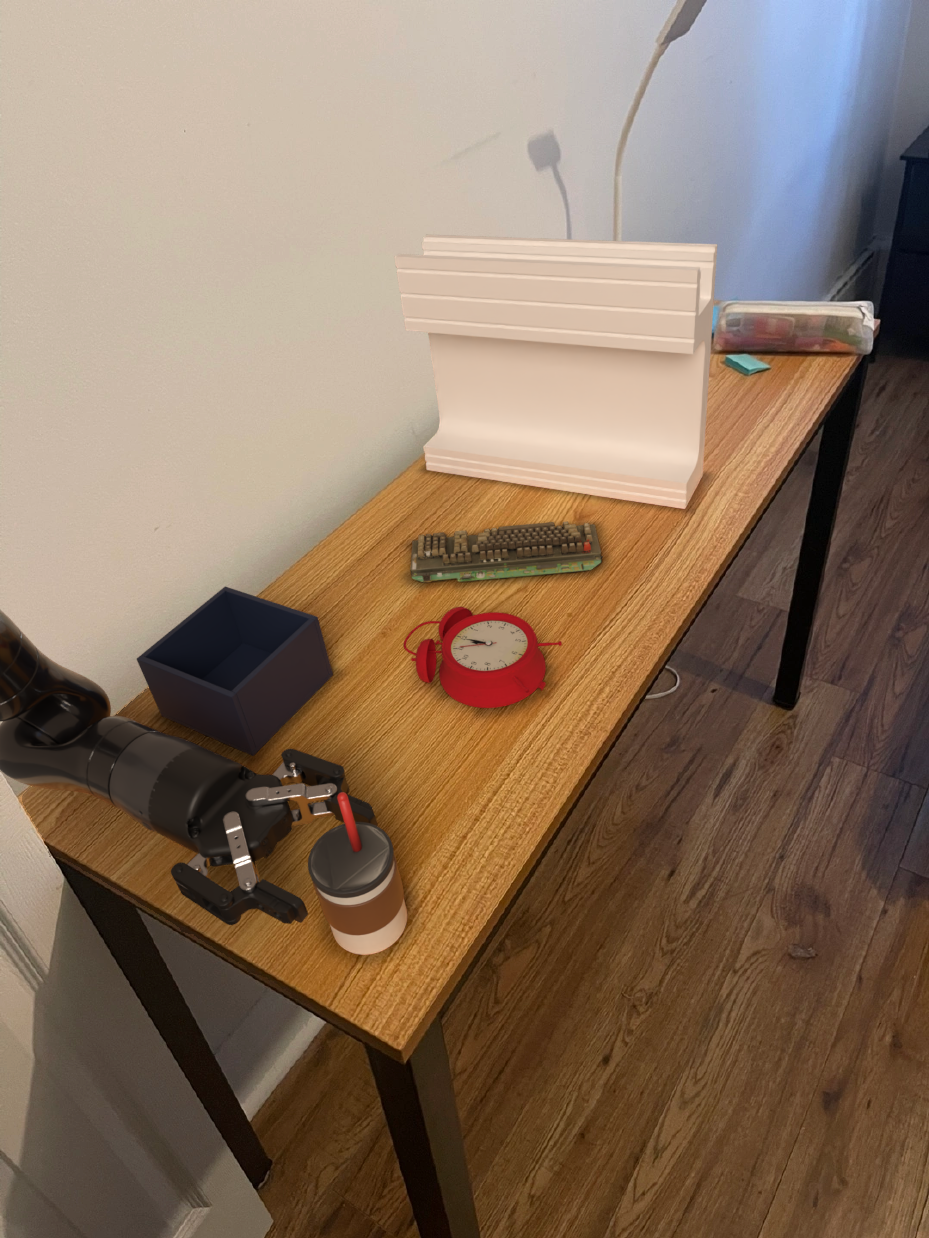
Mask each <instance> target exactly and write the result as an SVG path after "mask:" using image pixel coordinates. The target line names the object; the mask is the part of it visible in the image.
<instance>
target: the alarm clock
mask: <svg viewBox="0 0 929 1238" xmlns="http://www.w3.org/2000/svg"><path fill="white" fill-rule="evenodd" d="M430 624H432V625H433V624H434V625H435V624H438V630H437V631H438V636H439V639H440V640H439V639H437V640H436V641H434V639H433V638H425V639H423V640H421V642H420V643H419V645H418V646H417V650H416V652H414V651H412V650H410V649H409V648H408V647H407V643H408V640H409V639H410V638H411V636H412V635H413V634H414V633H415V632H416V631H417V630H418V629H420V628H421V627H423V626H426V625H430ZM538 642H539V641H538V636H537V633H536V632H535V630H534V628H533V627H532V626H531V625H530V623H529V622H528V621H526V620H524V619H523V618H521V617H519V616H517V615H514V614H511V613H505V612H498V611H497V612H496V611H490V612H482V613H476V614H473V612H472V610H470V609H469V608H467V607H464V606H456V607H453V608H451V609H450V610H448V611H446V613H445V614H444V615H443V616H442V617H441V618H440V620H429V621H424V622H422V623H419V624H418V625H416V626H415V627H414V628H412V629H411V630H410V632H409V633H408V634H407V636H406V637H405V639H404V641H403V649H404V650H405V651H406V652H407V653H408V654H411V655H413V656H414V657H411V658H410V661H411V662H415V670H416V674H417V676H418V678H419V680H420V681H422V682H423V683H428V684H431V683H433V681H434V679H435V676H436V670H437V654H441V657H442V660H441V662H440V665H439V669H438V670H439V671H438V675H439V682H440V684H441V687H442V689H443V690H444V692H445V693H446V694H447V695H448V696H449V697H450V698H452V699H453V700H455V701H456V702H458V703H460V704H463V705H465V706H469V707H474V708H481V709H494V708H495V709H496V708H501V707H506V706H510V705H514V704H517V703H519V702H521V701H523V700H525V699H526V698H527V697H530V696H531V695H532V694H533V693H534V692H536V690H537V689H540V691H541V692H542V691H543V690H544V688H545V687H546V685H547V683H546V682H545V681H544V679H545V675H546V672H547V671H546V660H545V656H544V654H543V653H542V651H541V650H540V648H539V647H547V646H548V647H549V646H559V647H561V646H563V643H562V641H561V640H559V641H557V642H539V643H538ZM439 645H440V646H441V649H440V650H437V647H436V646H439Z"/></svg>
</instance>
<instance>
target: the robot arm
mask: <svg viewBox="0 0 929 1238" xmlns="http://www.w3.org/2000/svg"><path fill="white" fill-rule="evenodd" d="M111 714H112V707H111V701H110V698H109V696H108V694H107V692H106V691H105V689H104V688H103V687H101V685H99V684H98V683H96V682H95V681H94V680H92V679H90V678H88V677H87V676H84V675H82V674H80V673H79V672H76V671H74V670H71V669H69V668H67V667H65V666H63V665H60V664H59V663H58V662H55V661H54V660H52V659H51V658H49V657H48V656H46V654H44V653H43V652H42V651H41V650H40V649H38V647H36V645H35V644H34V643H33V642H32V641H31V640H30V638H29V637H28V636H26V634H25V633H24V632H23V631H22V630H21V628H19V626H18V625H17V624H16V623H15V622H14V621H13V620H12V619H11V618H10V617H9V616H8V615H7V614H6V613H5V612H4V611H2V609H0V722H1V723H0V771H1V772H2V774H4V775H5V776H7V777H8V778H10V779H12V780H14V781H16V782H18V783H21V784H23V785H27V786H31V787H35V788H39V789H40V788H41V789H46V790H57V791H69V792H76V793H81V794H87V795H90V796H93V797H94V798H97V799H99V800H101V801H103V802H104V803H107V804H108V805H110V806H113V807H114V808H116V809H118V810H120V811H121V812H123V813H125V814H126V815H127V816H128V817H129V818H130V819H132V820H133V821H134V822H136V823H138V824H140V825H141V826H142V827H143V828H145V829H147V830H148V831H150V832H155V833H157V834H158V835H160V836H163V837H164V838H167V839H169V840H170V841H172V842H174V843H176V844H178V845H180V846H182V847H184V848H185V849H187V850H190V851H191V852H193V853H194V854H195V856H194V857H193V858H192V859H191V860H190V861H189V862H187V863H185V862H176V863H175V864H173V866H172V867H170V868H171V869H170V874H171V876H172V878H173V880H174V882H175V884H176V886H177V888H178V891H179V892H180V894H181V895H182V896H184V897H185V898H187V899H188V900H189V901H191V902H193V903H194V904H196V905H197V906H198V907H200V908H202V909H203V910H205V911H206V912H208V913H210V915H212V916H214V917H215V918H216V919H218V920H220V921H222V922H223V923H224V924H226V925H228V926H234V925H236V924H238V923H239V922H240V921H241V919H242V915H243V914H245V913H246V912H248V911H250V910H258V911H260V912H262V913H264V914H266V915H267V916H270V917H271V918H274V919H275V920H277V921H279V922H281V923H283V924H289V925H291V924H293V922H294V921H295V922H297V923H299V924H302V923H303V922H304V921H305V919H307V917H308V916H309V912H308V910H307V909H308V908H307V907H306V904H305V902H304V901H303V900H302V899H301V897H299V896H297V895H296V894H293V893H292V892H289V891H288V890H286V889H284V888H283V887H280V886H278V885H276V884H274V883H272V882H270V881H269V880H266V879H264V878H262V879H261V878H260V874H259V870H258V866H257V862H258V861H260V860H262V859H265V860H267V859H268V858H269V857H270V856H271V855H272V853H274V851H275V849H276V847H277V845H278V843H280V842H281V841H282V840H284V839H285V838H286V837H287V836H288V835H289V834H290V833H291V832H292V831H293V827H295V826H302V825H309V824H311V823H313V822H314V820H315V819H320V818H325V817H331V816H332V817H334V818H335V820H336V821H339V822H340V823H342V824H345V823H344V819H343V816H342V813H341V809H340V806H339V803H338V799H337V796H338V794H339V793H341V792H344V793H346V794H347V796H348V799H349V803H350V806H351V810H352V813H353V817H354V820H355V822H366V823H370V824H373V825H376V826H377V827H379V825H378V821H377V817H376V814H375V812H374V808H373V806H372V805H371V804H370V803H369V802H367V801H365V800H362V799H359V798H357V797H355V796H354V795H353V796H352V795H351V794H349V793H350V792H351V788H350V784H349V783H348V779H347V776H346V770H345V767H344V766H343V765H340V764H338V763H335V762H332V761H329V760H326V759H323V758H320V757H317V756H314V755H312V754H309V753H306V752H303V751H301V750H297V749H295V748H286V749H284V750H283V751H282V752H281V759H282V762H281V764H280V765H279V766H278V767H277V769H276V770H275V771H274V772H273V773H272V774H261V773H256V772H255V771H253V770H252V769H251V768H249V767H247V766H246V765H244V764H242V763H240V762H237V761H235V760H233V759H231V758H228V757H226V756H224V755H222V754H219V753H217V752H215V751H213V750H211V749H209V748H205V747H204V746H201V745H199V744H197V743H194V742H192V741H189V740H187V739H185V738H182V737H180V736H176V735H171V734H167V733H164V732H162V731H160V730H157V729H155V728H153V727H151V726H148V725H146V724H144V723H141V722H139V721H137V720H135V719H133V718H130V717H127V716H124V715H111ZM289 802H295V803H296V804H297V806H298V808H296V809H291V805H290V803H289ZM231 865H232V866H233V865H234V868H235V874H236V876H237V877H236V878H237V881H238V886H236V887H235V888H233V889H231V890H230V891H229V889H226V888H225V887H223V886H222V885H220V884H218V883H217V882H216V881H214V880H212V877H211V874H210V872H209V870H208V869H209V867H211V868H218V867H219V868H220V867H227V866H231Z"/></svg>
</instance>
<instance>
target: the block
mask: <svg viewBox="0 0 929 1238" xmlns="http://www.w3.org/2000/svg"><path fill="white" fill-rule="evenodd" d="M421 248H422V251H423V254H411V253H410V254H409V253H397V254H396V255H395V256H394V263H395V268H396V269H397V271H396V276H397V284H398V291H399V293H400V303H401V309H402V317H404V320H403V323H404V331H406V332H417V333H418V332H419V333H427V335H428V342H429V348H430V357H431V364H432V371H433V379H434V385H435V393H436V400H437V401H436V402H437V408H438V416H439V425H438V428H437V431H436V432H435V434H434V435H433V436H432V437H431V438H430V439H429V440H428V441H427V442H426V443H425V444H424V445H423V446H422V448H423V453H425V454H424V461H425V462H426V463H425V467H426V471H431V472H439V473H445V474H450V475H451V474H452V475H458V476H464V477H465V476H466V477H470V478H479V479H484V480H491V481H497V482H504V483H510V484H518V485H523V486H524V485H525V486H531V487H538V488H545V489H550V490H556V491H564V492H571V493H577V494H582V495H583V494H584V495H591V496H596V497H603V498H610V499H617V500H621V501H623V500H624V501H628V502H629V501H630V502H637V503H643V504H650V505H656V506H662V507H669V508H676V509H682V510H685V509H687V506H688V505H689V502H691V501H690V500H691V499H692V497H693V495H694V493H695V491H696V489H697V487H698V485H699V483H700V482H701V480H702V479H703V475H704V460H705V445H706V444H705V443H706V431H707V430H706V429H707V414H708V400H709V382H710V366H711V351H712V338H713V337H712V334H713V320H714V307H715V306H714V305H715V289H716V288H715V287H716V274H717V257H718V244H717V243H693V242H692V243H690V242H688V243H687V242H665V241H664V242H662V241H661V242H659V241H633V240H632V241H631V240H604V239H603V240H600V239H573V238H542V237H541V238H540V237H512V236H511V237H509V236H483V235H482V236H481V235H456V234H455V235H454V234H453V235H452V234H451V235H450V234H425V235H424V236H423V237H422V241H421Z"/></svg>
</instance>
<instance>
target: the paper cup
mask: <svg viewBox="0 0 929 1238" xmlns="http://www.w3.org/2000/svg"><path fill="white" fill-rule="evenodd" d="M337 799H338V803H339V806H340V809H341V813H342V816H343V819H344V823H341V824H338V825H337V826H334V827H332V828H331V829H328V830H327V831H326V832H325V833H323V834H322V835H320V837H319V838H318V839H317V840H316V841H315V843H314V844H313V845H312V847H311V850H310V852H309V854H308V860H307V870H308V873H309V876H310V879H311V881H312V884H313V887H314V891H315V894H316V896H317V899H318V902H319V904H320V908H321V911H322V913H323V915H324V919H325V920H326V921H327V923H328V924H329V926H330V927H329V928H330V929H331V932H332V934H333V938H334V940H335V942H336V943H337V944H338V945H339V946H340V947H341V948H342V949H344V950H346V951H347V952H349V953H351V954H355V955H360V956H361V955H365V956H367V955H373V954H376V953H377V954H378V953H381V952H383V951H385V950H387V949H388V948H390V947H391V946H393V944H395V943H396V942H397V941H398V940H399V939H400V937H401V936H402V934H403V933H404V931H405V928H406V927H407V922H408V909H407V906H406V902H405V901H406V900H405V891H404V885H403V882H402V877H401V874H400V870H399V866H398V861H397V857H396V854H395V849H394V846H393V842H392V840H391V838H390V836H389V835H388V833H387V832H386V831H385V830H384V829H382V828H381V827H379V826H378V827H377V826H376V825H373V824H370V823H366V822H355V820H354V817H353V813H352V810H351V806H350V803H349V799H348V796H347V794H346V793H344V792H341V793H339V794H338V796H337Z"/></svg>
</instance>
